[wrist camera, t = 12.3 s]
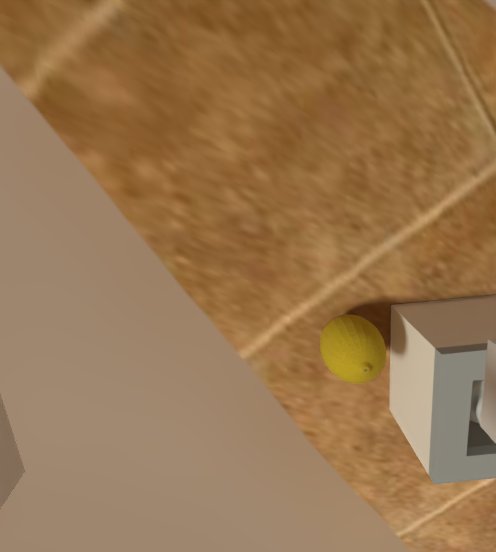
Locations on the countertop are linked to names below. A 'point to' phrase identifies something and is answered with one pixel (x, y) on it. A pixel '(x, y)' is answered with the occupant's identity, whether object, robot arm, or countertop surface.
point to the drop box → (442, 383)
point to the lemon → (353, 349)
